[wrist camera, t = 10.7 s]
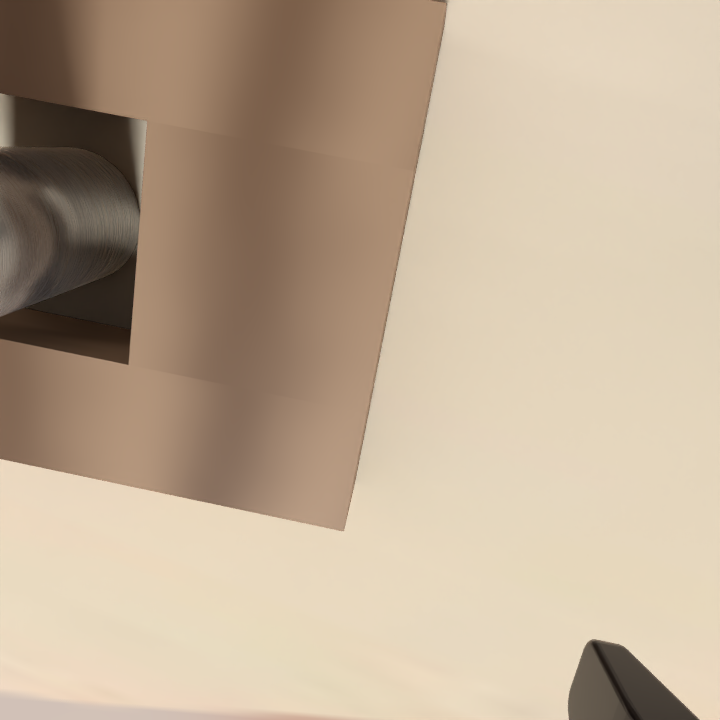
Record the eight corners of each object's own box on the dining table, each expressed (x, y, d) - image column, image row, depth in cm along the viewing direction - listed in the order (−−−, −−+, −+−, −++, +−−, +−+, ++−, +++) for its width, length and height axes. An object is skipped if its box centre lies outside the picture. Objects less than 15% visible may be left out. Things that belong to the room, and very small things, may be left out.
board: (444, 26, 18) (446, 3, 16) (354, 483, 23) (343, 531, 20) (-254, -99, 19) (-374, -143, 16) (-214, 364, 23) (-303, 394, 21)
